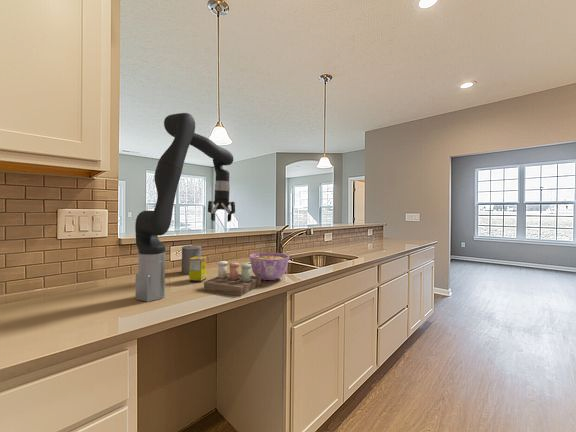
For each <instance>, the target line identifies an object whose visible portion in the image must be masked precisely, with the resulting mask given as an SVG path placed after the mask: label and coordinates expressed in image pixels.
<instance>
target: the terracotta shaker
mask: <svg viewBox="0 0 576 432" xmlns="http://www.w3.org/2000/svg"><path fill="white" fill-rule="evenodd" d="M228 266H229V273H230V280H238V274H239V270H240V269H239V267H240V262H235V261H233V262H228Z"/></svg>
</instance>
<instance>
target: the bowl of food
mask: <svg viewBox="0 0 576 432" xmlns="http://www.w3.org/2000/svg"><path fill="white" fill-rule="evenodd" d="M249 260H250V264H251V270H252V273H253V275H254V276H257V277H261V281H265V280H274V281H276V280H275V279H277V280H278V279H279V278H282V277H283V276H284V275H285V273H286V271H287V268H288V264H289V261H290V255H288V254H286V253H280V252H255V253H251V254H250V255H249Z"/></svg>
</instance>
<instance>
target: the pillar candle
mask: <svg viewBox="0 0 576 432" xmlns="http://www.w3.org/2000/svg"><path fill="white" fill-rule="evenodd" d="M193 257H202V246H201V245H193V244H191V245H184V246H182V247H181V274H183V275H189V259H190V258H193Z"/></svg>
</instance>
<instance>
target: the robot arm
mask: <svg viewBox="0 0 576 432" xmlns="http://www.w3.org/2000/svg"><path fill="white" fill-rule="evenodd" d="M163 125H164V130H165V131H166V133H167V134H169V136H171V137H173V140H172V142H171V144H170V145H169V147H168V148H167V149H166V150H165V151H164V152H163V154H161V156H160V157H159V159H158V161H157V164H156V168H155V172H154V177H153V178H154V184H155V188H156V194H157V195H156V196H157V197H156V198H157V200H156V203H155V206H154V209H153V210H142V211H141V212H140V213H139V214H138V215H137V217H136V219H135V223H134V225H135V229H134V231H135V245H136V247H137V251H138V253H137V254H138V255H137V256H138V257H137V258H138V261H137V263H138V265H137V273H136V274H135V300H137V301H143V302H147V303H148V302H151V301H156V300H159V299H160V300H161V299H163V298H164V297H165V293H166V292H165V291H166V289H165V288H166V286H165V285H166V245H165V244H164V243H163V242H162V241H161V240H160V239H159V237H158V236H163V235H165V234H166V233H167V232H168V231H169V229H170V227H171V223H172V218H173V212H174V211H173V210H174V203H175V199H176V195H177V190H178V187H179V186H178V185H179V183H180V180H181V176H182V172H183V169H184V168H183V167H184V164H185V160H186V156H187V153H188V149H189V147H190V146H192V147H194V148H196V149H197V150H198V151H199V152H202V153H203V154H204V155H205V156H207V157H208V158H211V159H212V163H213V168H214V171H215V179H214V180H215V181H214V182H215V183H214V198H213V200H214V201H212V200H208V202H207V213H210V219H211V221H212V222H215V220H216V212H217V211H218V210H222V211H226V212H227V216H226V217H227V222H228V223H229V222H231V221H232V214H235V213H236V202H235V201H230V171H228V170H227V169H224V168H223V166H230V165H232V164H233V162H234V155H233V154H232V152H231V151H230V150H228V149H226V148H223V147H222V146H219V145H217V143H215V142H214V141H213V140H212V139H209V138H208V137H206V136H203V135H202V134H198V133H196V132H195V130H196V121H195V118H194V116H193V115H192V114H190V113H187V112H181V113H173V114H169V115H167V116H165V117H164V121H163ZM213 205H214V206H213ZM229 206H230V207H229Z"/></svg>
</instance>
